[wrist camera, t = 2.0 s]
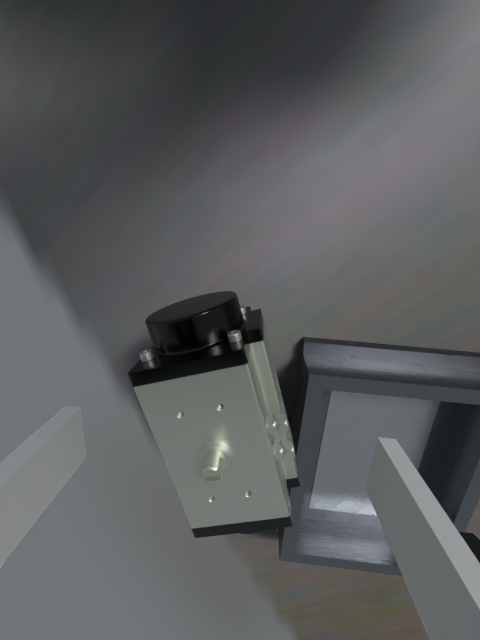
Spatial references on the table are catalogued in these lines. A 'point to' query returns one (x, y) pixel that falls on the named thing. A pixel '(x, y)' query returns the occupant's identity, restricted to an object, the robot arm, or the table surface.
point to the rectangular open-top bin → (360, 440)
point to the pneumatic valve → (218, 414)
